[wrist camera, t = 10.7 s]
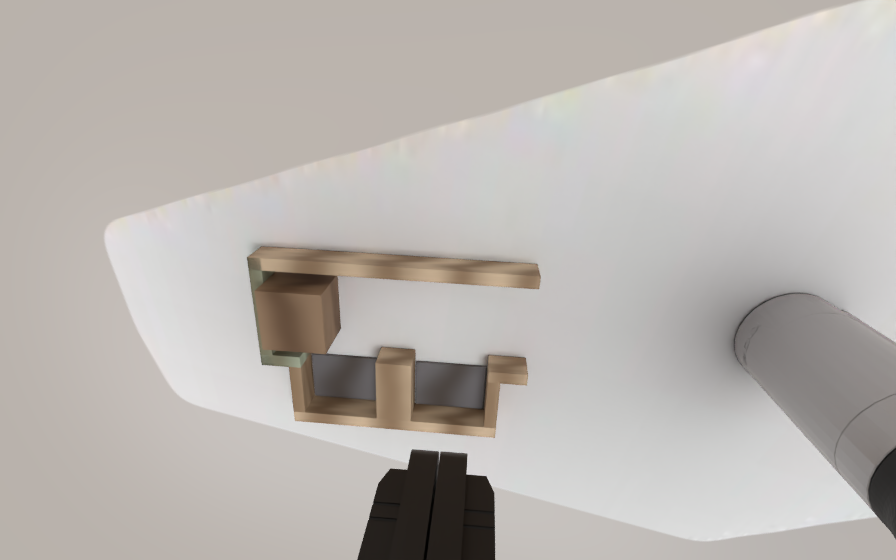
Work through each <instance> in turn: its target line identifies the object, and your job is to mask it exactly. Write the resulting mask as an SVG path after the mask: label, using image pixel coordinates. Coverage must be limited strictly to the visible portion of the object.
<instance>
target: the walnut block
mask: <svg viewBox="0 0 896 560" xmlns="http://www.w3.org/2000/svg"><path fill="white" fill-rule="evenodd" d="M254 293H255V300H256V307H257V314H258V321H259V328H260V335H261V342H262V349H263V350H275V351H289V352H303V353H316V354H326V353H327V351H328V350H329V348H330V346H331V344H332V343H333V341H334V339H335V337H336V336H337V334H338V332H339V331H340V329H341V325H340V308H339V292H338V276H335V275H320V274H305V273H290V272H275V273H274V274H272V275H271V276H270V277H269V278H268V279H267V280H266V281H265V282H264V283H263V284H262V285H260V286H259V287H258V288H257V289H256V290H255V291H254Z"/></svg>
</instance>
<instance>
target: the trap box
mask: <svg viewBox="0 0 896 560" xmlns="http://www.w3.org/2000/svg"><path fill="white" fill-rule="evenodd" d="M247 261H248V268H249V275H250V282H251V290H252V297H253V304H254V311H255V318H256V326H257V333H258V340H259V347H260V355H261V362H262V365H272V366H285V367H289V372H290V381H291V390H292V399H293V408H294V417H295V421H303V422H315V423H327V424H338V425H350V426H362V427H374V428H386V429H398V430H409V431H421V432H433V433H445V434H457V435H469V436H480V437H492V438H495V430H496V420H497V410H498V400H499V391H500V383H502V384H515V385H527V379H528V371H527V364H526V358H520V357H507V356H493V355H489V356H488V368H487V379H486V391H485V402H484V408H483V399H484V387H485V376H486V366H476V365H463V364H450V363H437V362H424V361H417V362H416V403H415V350H414V349H400V348H387V347H382V348H381V350H380V353H379V355H378V358H372V357H359V356H346V355H333V354H316V353H312V355H311V353H303V352H289V351H275V350H263V349H262V342H261V335H260V328H259V321H258V314H257V307H256V300H255V293H254V291H255V290H256V289H257V288H258V287H259V286H260V285H262V284H263V283H264V282H265V281H266V280H267V279H268V278H269V277H270V276H271V275H272V274H274V273H275V272H290V273H305V274H320V275H335V276H350V277H365V278H380V279H394V280H409V281H424V282H439V283H454V284H469V285H484V286H498V287H513V288H528V289H539V286H540V278H541V276H540V272H539V269H538V265H537V264H526V263H511V262H495V261H480V260H464V259H449V258H433V257H418V256H402V255H387V254H371V253H356V252H340V251H325V250H309V249H294V248H278V247H260V248H259V249H258V250H256V251H255V252H254V253H252V254H251V255H250V256H248V257H247ZM312 363H313V366H312ZM313 375H314V378H313ZM314 386H315V389H314Z"/></svg>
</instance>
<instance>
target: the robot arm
mask: <svg viewBox="0 0 896 560" xmlns="http://www.w3.org/2000/svg"><path fill="white" fill-rule="evenodd" d="M735 353H736V356H737V358H738V360H739V362H740V363H741V365H742V366H743V367H744V368H745V369H746V370H747V372H748V373H749V374H750V375H751V376H752V377H753V378H754V379H755V380H756V382H757V383H758V384H759V385H760V386H761V387H762V388H763V390H764V391H765V392H766V393H767V394H768V395H769V396H770V397H771V399H772V400H773V401H774V402H775V403H776V404H777V405H778V406H779V407H780V409H781V410H782V411H783V412H784V413H785V414H786V415H787V416H788V417H789V419H790V420H791V421H792V422H793V423H794V424H795V425H796V426H797V427H798V429H799V430H800V431H801V432H802V433H803V434H804V435H805V436H806V437H807V438H808V440H809V441H810V442H811V443H812V444H813V445H814V446H815V447H816V448H817V450H818V451H819V452H820V453H821V454H822V455H823V456H824V457H825V458H826V460H827V461H828V462H829V463H830V464H831V465H832V466H833V467H834V468H835V470H836V471H837V472H838V473H839V474H840V475H841V476H842V477H843V478H844V479H845V481H846V482H847V483H848V484H849V485H850V486H851V487H852V488H853V489H854V490H855V492H856V493H857V494H858V495H859V496H860V497H861V498H862V499H863V501H864V502H865V503H866V504H867V505H868V506H869V507H870V508H871V509H872V511H873V512H874V513H875V514H876V515H877V516H878V518H879V519H880V520H881V521H882V522H883V523H884V524H885V525H886V527H887V528H888V529H889V530H890V531H891V532H892V534H893V535H894V537H895V538H896V343H895V342H894V341H892V340H890V339H889V338H887V337H886V336H884V335H883V334H881V333H880V332H878V331H876V330H875V329H873V328H872V327H870V326H869V325H867V324H866V323H864V322H862V321H861V320H859V319H858V318H856V317H855V316H853V315H851V314H850V313H848V312H845V311H841V310H839V309H838V308H836V307H835V306H833V305H832V304H830V303H829V302H827V301H825V300H823V299H822V298H820V297H817V296H813V295H810V294H799V293H797V294H787V295H783V296H780V297H776V298H773V299H771V300H769V301H767V302H765V303H763V304H762V305H760V306H759V307H757V308H756V309H754V310H753V311H752V312H751V313H750V314H749V315H748V316H747V317H746V318H745V319H744V321H743V322H742V324H741V325H740V327H739V329H738V331H737V334H736V338H735ZM466 470H467V454H465V453H453V452H441V454H440V461H439V452H438V451H426V450H413V449H412V451H411V455H410V460H409V465H408V469H407V470H401V469H390V470H389V471H388V472H387V473H386V475H385V476H384V477H383V478H382V480H381V481H380V482H379V484H378V487H377V490H376V494H375V498H374V502H373V505H372V509H371V512H370V516H369V520H368V523H367V527H366V531H365V534H364V538H363V541H362V545H361V548H360V552H359V556H358V560H495V516H494V511H495V510H494V491H493V490H492V487H491V485H490V483H489V481H488V479H487V477H486V476H477V475H466Z"/></svg>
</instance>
